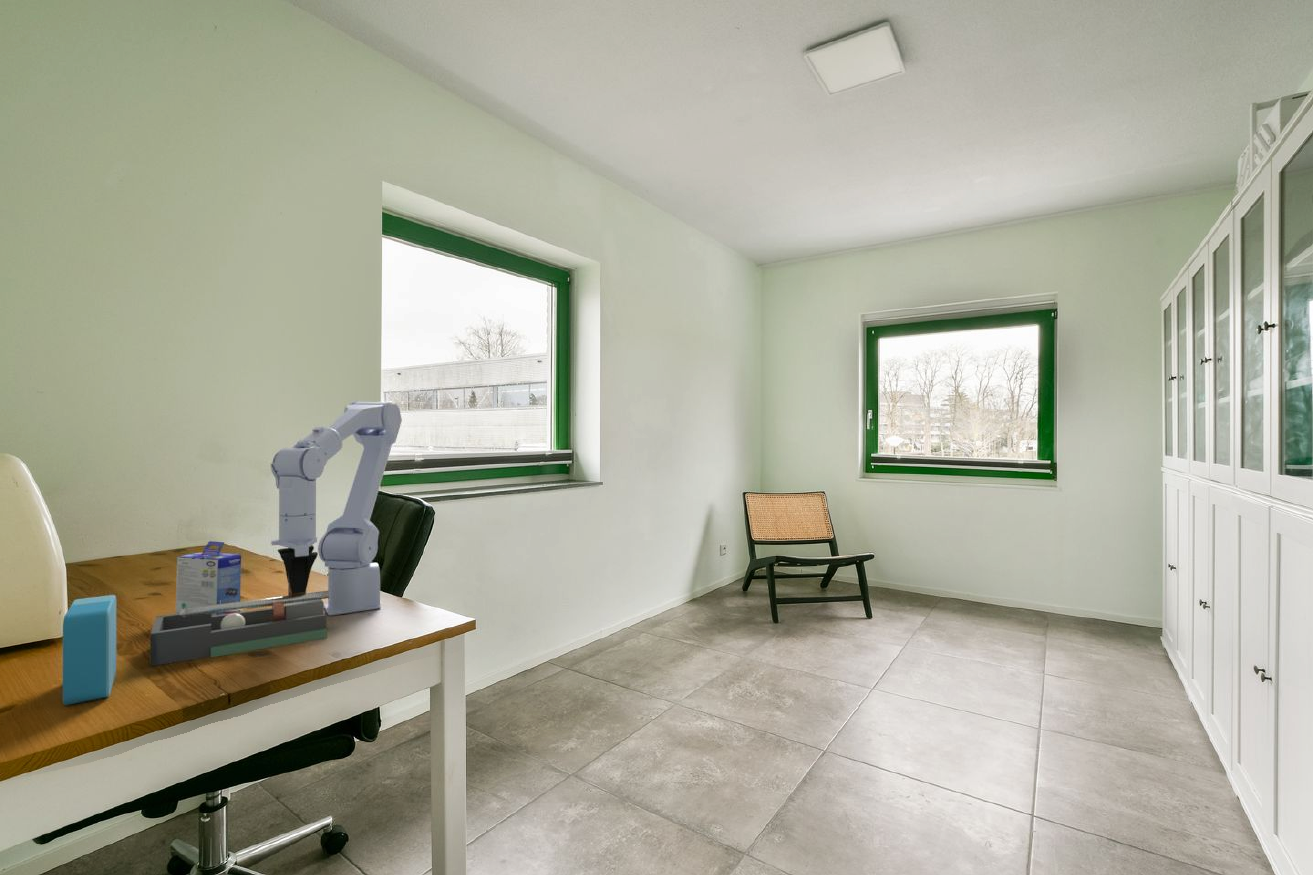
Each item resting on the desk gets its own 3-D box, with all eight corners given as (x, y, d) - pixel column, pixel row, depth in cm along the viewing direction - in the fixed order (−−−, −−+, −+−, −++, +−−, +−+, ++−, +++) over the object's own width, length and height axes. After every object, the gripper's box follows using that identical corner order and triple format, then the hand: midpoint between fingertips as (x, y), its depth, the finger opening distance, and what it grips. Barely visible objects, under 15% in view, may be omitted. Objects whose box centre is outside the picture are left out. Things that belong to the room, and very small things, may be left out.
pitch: (317, 619, 117) (318, 593, 117) (327, 637, 107) (327, 609, 107) (156, 644, 103) (156, 614, 103) (150, 667, 93) (150, 634, 93)
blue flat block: (75, 678, 89) (75, 597, 88) (116, 671, 91) (116, 592, 91) (62, 709, 79) (62, 617, 79) (108, 700, 82) (109, 611, 82)
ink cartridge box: (243, 615, 119) (243, 541, 119) (217, 624, 114) (217, 547, 113) (201, 611, 121) (201, 539, 121) (174, 620, 116) (174, 544, 115)
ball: (244, 629, 106) (245, 609, 106) (245, 635, 103) (245, 614, 103) (220, 633, 104) (220, 612, 104) (220, 638, 101) (220, 618, 101)
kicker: (326, 613, 114) (326, 566, 114) (330, 620, 110) (330, 571, 110) (180, 635, 102) (180, 582, 102) (178, 644, 98) (178, 588, 97)
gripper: (268, 510, 113) (268, 583, 113) (274, 521, 101) (274, 602, 101) (312, 508, 117) (311, 578, 117) (322, 518, 105) (322, 596, 105)
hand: (297, 589), depth 109 cm, fingers open, 4 cm apart
